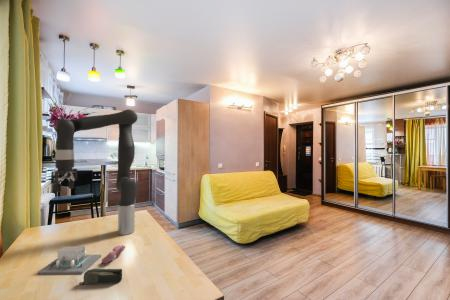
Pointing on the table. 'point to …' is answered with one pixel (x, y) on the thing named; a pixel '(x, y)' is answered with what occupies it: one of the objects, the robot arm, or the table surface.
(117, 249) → the pink oblong lump
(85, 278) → the mobile phone
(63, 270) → the docking tray
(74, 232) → the table surface
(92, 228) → the table surface
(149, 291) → the table surface
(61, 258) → the block
